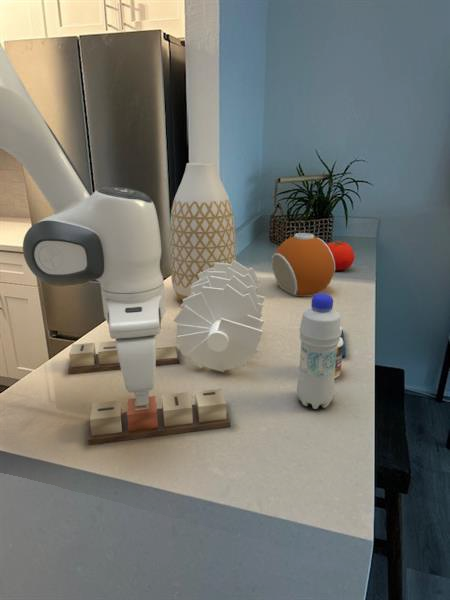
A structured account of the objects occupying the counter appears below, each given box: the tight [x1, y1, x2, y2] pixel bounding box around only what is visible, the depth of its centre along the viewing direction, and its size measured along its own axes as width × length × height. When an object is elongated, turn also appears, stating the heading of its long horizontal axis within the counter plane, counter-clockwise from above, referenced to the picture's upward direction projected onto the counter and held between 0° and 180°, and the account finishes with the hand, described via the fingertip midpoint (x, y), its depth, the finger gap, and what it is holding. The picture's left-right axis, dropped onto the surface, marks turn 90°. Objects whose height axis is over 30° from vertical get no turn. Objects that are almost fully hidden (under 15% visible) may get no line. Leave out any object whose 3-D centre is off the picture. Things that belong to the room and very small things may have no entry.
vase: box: [169, 162, 237, 301], centre depth 120 cm, size 19×18×38 cm
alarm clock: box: [271, 232, 336, 297], centre depth 131 cm, size 19×18×17 cm
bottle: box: [296, 293, 341, 410], centre depth 72 cm, size 7×7×20 cm
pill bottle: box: [334, 325, 343, 379], centre depth 84 cm, size 6×6×10 cm
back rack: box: [67, 340, 180, 375], centre depth 89 cm, size 22×6×4 cm, turn 101°
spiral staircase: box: [173, 260, 266, 373], centre depth 92 cm, size 18×18×25 cm
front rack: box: [87, 388, 231, 446], centre depth 69 cm, size 22×6×4 cm, turn 101°
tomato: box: [326, 239, 355, 272], centre depth 153 cm, size 11×13×10 cm
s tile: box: [126, 395, 158, 431], centre depth 69 cm, size 4×4×3 cm
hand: (142, 385), depth 67 cm, fingers open, 8 cm apart
